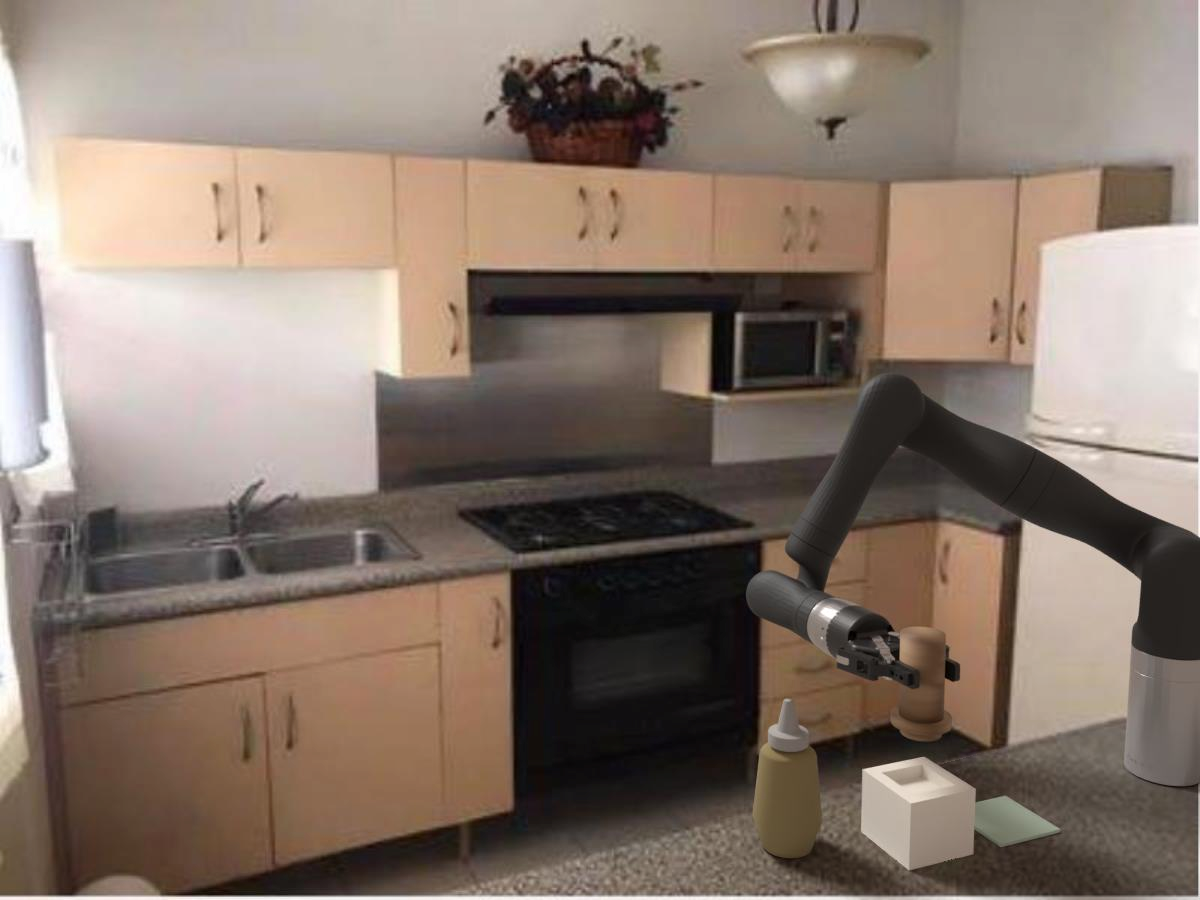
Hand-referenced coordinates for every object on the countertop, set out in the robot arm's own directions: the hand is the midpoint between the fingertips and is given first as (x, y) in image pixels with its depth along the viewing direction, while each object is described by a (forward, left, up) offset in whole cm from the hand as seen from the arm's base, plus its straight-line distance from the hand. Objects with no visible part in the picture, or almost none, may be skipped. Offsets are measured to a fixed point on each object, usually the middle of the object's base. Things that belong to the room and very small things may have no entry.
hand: (937, 676), depth 111 cm
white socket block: (0, -3, -21) cm, 22 cm away
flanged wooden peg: (0, -3, -8) cm, 8 cm away
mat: (-13, -3, -21) cm, 25 cm away
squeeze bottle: (+15, -8, -22) cm, 27 cm away
